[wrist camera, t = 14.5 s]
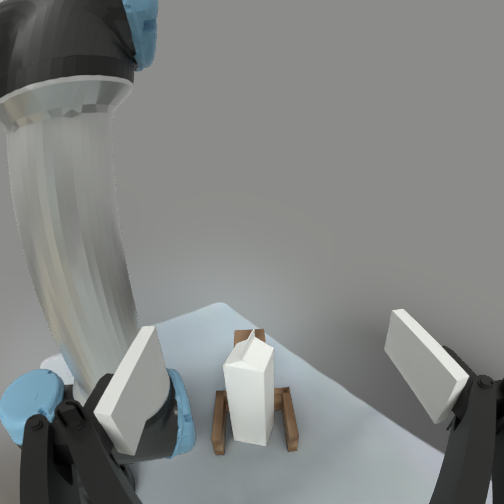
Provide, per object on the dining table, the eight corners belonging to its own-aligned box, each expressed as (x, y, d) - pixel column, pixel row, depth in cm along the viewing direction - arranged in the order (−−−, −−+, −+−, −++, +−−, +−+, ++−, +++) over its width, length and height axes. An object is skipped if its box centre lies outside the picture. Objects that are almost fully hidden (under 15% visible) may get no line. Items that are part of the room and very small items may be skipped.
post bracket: (215, 454, 38) (198, 390, 33) (220, 396, 53) (210, 331, 48) (296, 450, 38) (304, 385, 33) (286, 393, 53) (288, 327, 48)
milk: (273, 423, 45) (275, 330, 39) (265, 447, 39) (264, 354, 33) (243, 418, 47) (235, 325, 41) (233, 440, 41) (220, 347, 35)
